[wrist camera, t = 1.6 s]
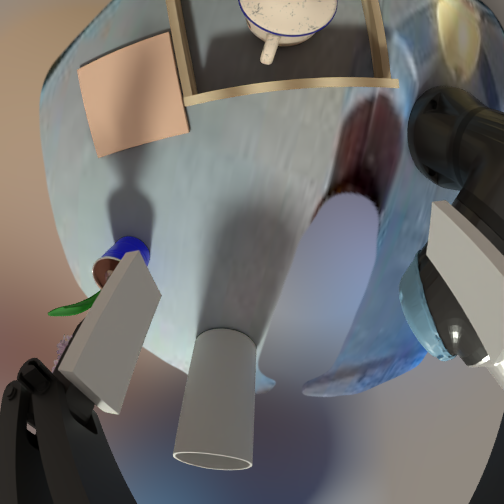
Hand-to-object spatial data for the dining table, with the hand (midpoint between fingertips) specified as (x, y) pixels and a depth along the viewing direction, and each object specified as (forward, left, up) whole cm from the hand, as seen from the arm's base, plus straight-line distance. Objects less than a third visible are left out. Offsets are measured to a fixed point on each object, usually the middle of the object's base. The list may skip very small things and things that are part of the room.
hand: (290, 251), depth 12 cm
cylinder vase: (+14, +38, -26) cm, 48 cm away
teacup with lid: (-3, -15, -26) cm, 30 cm away
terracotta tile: (+17, -10, -26) cm, 32 cm away
